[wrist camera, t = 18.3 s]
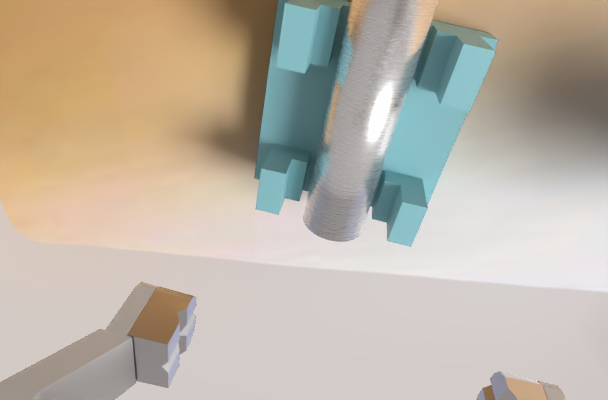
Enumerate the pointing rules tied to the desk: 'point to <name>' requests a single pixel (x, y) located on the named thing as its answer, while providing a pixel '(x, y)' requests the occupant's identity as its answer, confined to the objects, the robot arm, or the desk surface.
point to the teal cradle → (410, 128)
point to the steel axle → (364, 111)
